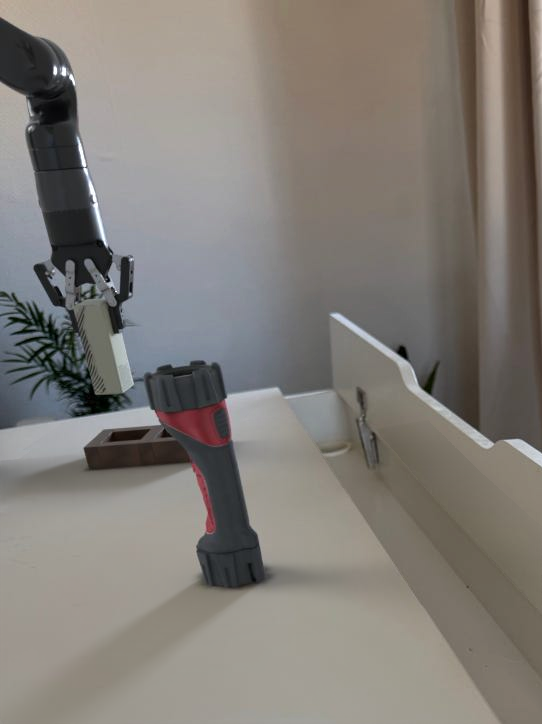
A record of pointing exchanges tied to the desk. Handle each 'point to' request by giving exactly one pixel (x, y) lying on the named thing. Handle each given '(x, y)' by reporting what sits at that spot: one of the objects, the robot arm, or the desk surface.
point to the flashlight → (209, 467)
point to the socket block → (134, 448)
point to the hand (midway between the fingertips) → (101, 333)
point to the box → (103, 348)
